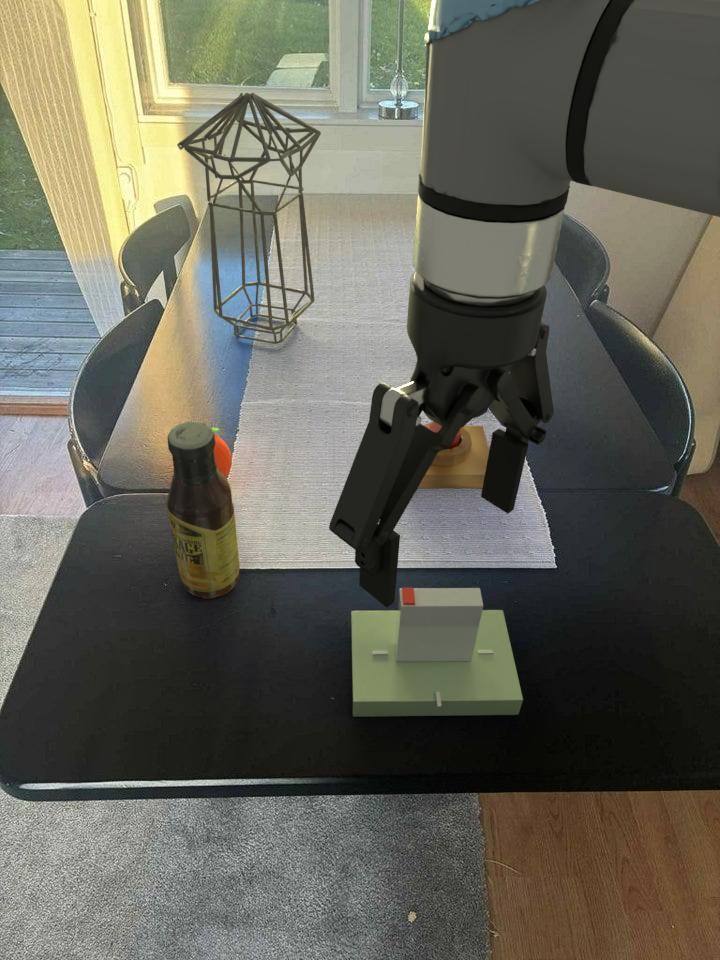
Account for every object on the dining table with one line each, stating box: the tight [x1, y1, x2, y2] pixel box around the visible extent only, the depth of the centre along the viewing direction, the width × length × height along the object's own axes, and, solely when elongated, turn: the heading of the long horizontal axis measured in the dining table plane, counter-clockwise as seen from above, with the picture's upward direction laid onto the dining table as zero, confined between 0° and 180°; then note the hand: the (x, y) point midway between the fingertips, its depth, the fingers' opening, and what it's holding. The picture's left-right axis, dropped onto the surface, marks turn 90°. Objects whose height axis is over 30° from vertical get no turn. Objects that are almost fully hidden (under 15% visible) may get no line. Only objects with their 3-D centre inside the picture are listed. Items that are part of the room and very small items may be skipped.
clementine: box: [172, 427, 233, 478], centre depth 84 cm, size 8×7×7 cm
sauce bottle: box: [165, 420, 241, 600], centre depth 68 cm, size 7×6×20 cm
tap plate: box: [350, 609, 524, 718], centre depth 66 cm, size 15×11×3 cm
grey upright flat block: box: [395, 587, 484, 662], centre depth 62 cm, size 7×2×8 cm, turn 91°
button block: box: [417, 421, 490, 489], centre depth 89 cm, size 12×10×4 cm
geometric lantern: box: [176, 91, 322, 345], centre depth 103 cm, size 16×16×35 cm
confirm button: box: [429, 421, 461, 449], centre depth 87 cm, size 4×4×2 cm
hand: (441, 545), depth 52 cm, fingers open, 13 cm apart
